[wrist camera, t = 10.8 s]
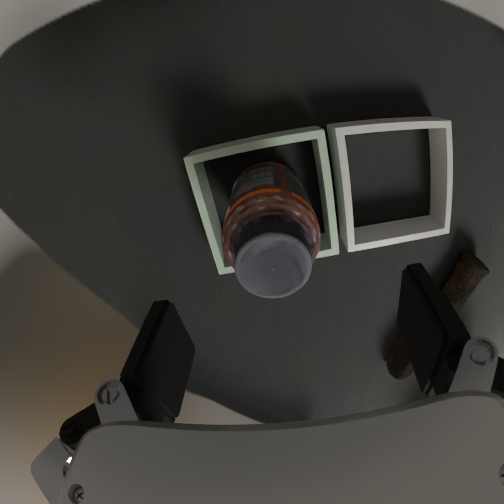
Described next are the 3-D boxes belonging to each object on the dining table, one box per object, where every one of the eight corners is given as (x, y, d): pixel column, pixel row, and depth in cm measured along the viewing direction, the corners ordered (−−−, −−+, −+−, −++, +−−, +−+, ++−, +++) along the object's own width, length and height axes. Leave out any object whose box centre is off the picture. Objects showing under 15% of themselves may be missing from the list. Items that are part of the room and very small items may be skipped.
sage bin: (316, 125, 21) (324, 129, 19) (331, 237, 26) (339, 254, 24) (192, 150, 23) (183, 158, 20) (223, 256, 28) (219, 274, 25)
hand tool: (459, 243, 26) (481, 265, 22) (477, 255, 27) (497, 276, 23) (371, 357, 35) (379, 384, 31) (391, 361, 36) (400, 387, 32)
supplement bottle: (218, 196, 25) (189, 270, 15) (265, 145, 22) (268, 185, 12) (270, 238, 26) (274, 328, 17) (317, 192, 24) (354, 264, 14)
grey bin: (432, 116, 20) (450, 120, 17) (434, 219, 25) (448, 233, 22) (326, 124, 21) (335, 128, 19) (340, 236, 26) (348, 252, 23)
